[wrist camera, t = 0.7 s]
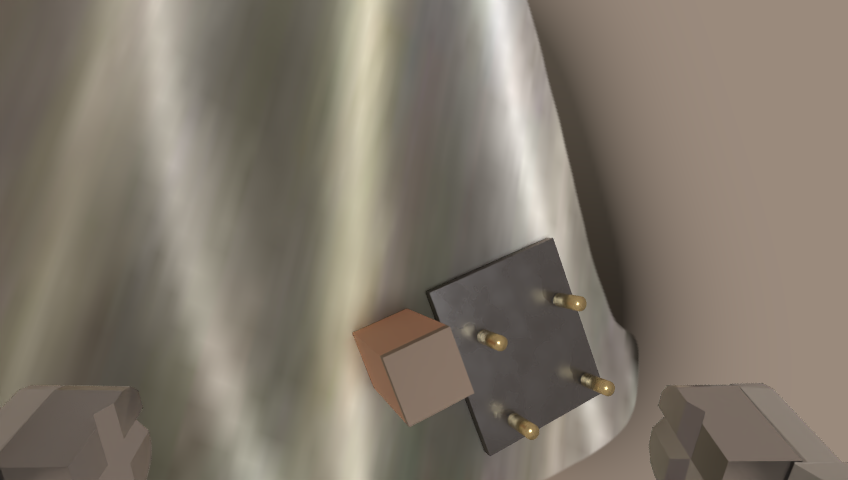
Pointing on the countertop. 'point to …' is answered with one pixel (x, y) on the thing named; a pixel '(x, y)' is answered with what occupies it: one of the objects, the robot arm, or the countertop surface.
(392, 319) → the block
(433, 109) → the countertop surface
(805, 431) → the robot arm
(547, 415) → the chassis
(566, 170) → the countertop surface
